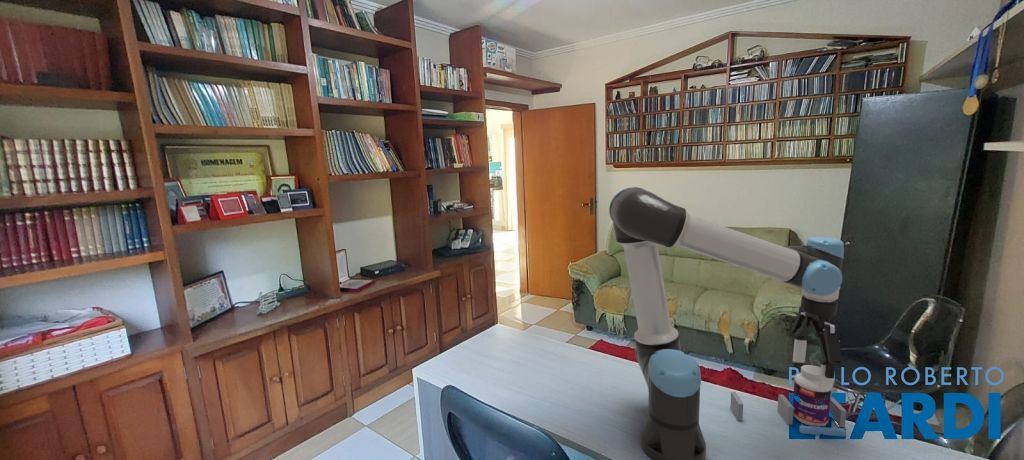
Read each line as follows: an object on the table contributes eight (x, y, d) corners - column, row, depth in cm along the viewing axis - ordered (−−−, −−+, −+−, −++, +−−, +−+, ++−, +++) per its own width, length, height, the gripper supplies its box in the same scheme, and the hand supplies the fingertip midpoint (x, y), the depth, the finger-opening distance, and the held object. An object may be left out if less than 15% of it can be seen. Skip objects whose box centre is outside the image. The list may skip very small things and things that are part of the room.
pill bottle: (793, 424, 109) (797, 373, 106) (789, 407, 116) (793, 360, 113) (831, 432, 105) (836, 380, 102) (825, 414, 112) (829, 365, 109)
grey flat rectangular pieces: (853, 437, 103) (854, 419, 102) (742, 429, 108) (743, 411, 107) (831, 414, 112) (832, 397, 111) (730, 407, 117) (731, 391, 116)
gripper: (868, 316, 92) (857, 402, 95) (810, 283, 116) (803, 353, 120) (830, 314, 93) (821, 399, 97) (781, 282, 117) (775, 351, 121)
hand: (811, 374), depth 108 cm, fingers open, 13 cm apart
